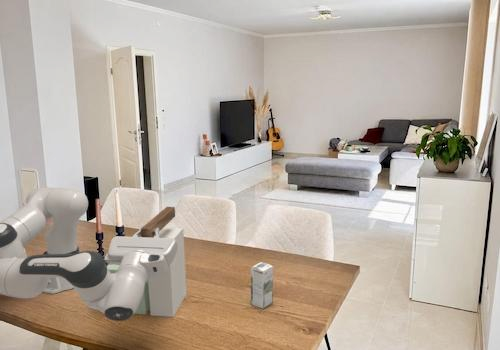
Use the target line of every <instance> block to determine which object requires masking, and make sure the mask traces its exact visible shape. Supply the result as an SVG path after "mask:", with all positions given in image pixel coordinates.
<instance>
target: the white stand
mask: <svg viewBox="0 0 500 350" xmlns="http://www.w3.org/2000/svg"><path fill="white" fill-rule="evenodd" d="M184 235H185V234H184V228H179V227H164V228H163V229H162V230H161V231H160V232H159V238H174V239H175V240H176V242H177V245H178V249H177V252H176V255H175V257H174V259H173V261H172V263H171V264H170V265H168V272H167V273H166V274H162V275H157V276H154V277H151V278H148V285H149V299H150V309H149V312H150V313H149V314H150V316H151V317H152V316H155V317H165V318H167V317H168V318H169V317H171V318H174V316H175V315H176V313H177V312H178V310H179V308H180V306H181V305H182V303H183V301H184V299H185V298H186V296H187V295H188V294H187V291H188V290H187V275H186V274H187V273H186V260H185V259H186V256H185V255H186V254H185V240H184V239H185V238H184ZM155 236H156V235H155ZM153 238H154V237H153Z"/></svg>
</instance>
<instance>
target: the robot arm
mask: <svg viewBox="0 0 500 350" xmlns="http://www.w3.org/2000/svg"><path fill="white" fill-rule="evenodd" d="M88 207H89V200H88V196H87V195H86V194H85V193H83V192H81V191H78V190H75V189H69V188H61V187H60V188H58V187H47V186H46V187H45V186H44V187H43V186H42V187H38V188H37V187H36V188H33V189H32V190H30V191H29V192H28V193H27V196H26V198H25V204H24V205H23V206H22V207H21V208H19V209H18V210H17V211H15V212H14V213H12V214H11V215H9V216H8V217H6V218H5V219H3V220H2V221H0V295H2V296H7V297H12V298H16V299H17V298H18V299H34V298H36V297H37V296H40V295H41V294H42V293H46V294H51V295H54V294H58V293H60V292H64V291H69V290H72V289H74V290H75V292H76V293H77V295H78V296H79V298H80V300H81V301H82V302H83V303H84V306H86V307H87V308H89V309H90V310H94V311H98V312H101V313H102V314H103V315H104V316H105V317H106V318H107V319H108V320H111V321H114V322H123V321H127V320H129V319H131V318H132V317H133V316H134V315H135V314H134V313H135V312H136V310H137V308H138V306H139V304H140V301H141V298H142V296H143V293H144V286H145V283H146V282H147V280H148V278H151V277H154V276H157V275H162V274H166V273H167V272H168V265H170V264H171V263H172V261H173V259H174V257H175V255H176V252H177V249H178V245H177V242H176V240H175V239H174V238H159V232H160V230H159V228H154V229H153V234H154V235H156V236H154V238H152V237H141V228H142V227H143V226H141V227H139V230H138V231H137V232H135V233H134V234H133V235H132V236H119V235H118V236H117V235H115V236H114V237H113V238H111V241H110V243H109V247H108V251H107V253H106V255H105V256H104V257H103V255H102V254H101V253H100V252H97V251H93V250H85V251H80V247H79V246H78V237H77V228H78V223H79V221H80V219H81V217H82V216H83V215H85V214H86V212H87V211H88ZM50 218H51V219H53V222H52V226H50V227H49V228H48V229H47V230H46V231H45V229H46V227H47V220H48V219H50ZM44 231H45V235H44V237H45V243H46V244H45V245H46V251H44V252H43V253H41V254H34V255H30V256H28V254H27V251H26V248H25V247H24V246H26V244H28V243H29V242H31V241H32V240H34V239H35V238H36V237H37V236H39V235H40V234H42V233H43V232H44ZM109 264H116V265H120V266H119V268H118V271H117V272H116V273H115V274H111V273H110V272H109V270H108V268H107V265H109Z"/></svg>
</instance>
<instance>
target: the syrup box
mask: <svg viewBox="0 0 500 350" xmlns="http://www.w3.org/2000/svg"><path fill="white" fill-rule="evenodd" d="M273 295H274V266H273V265H271V264H269V263H266V262H262V261H261V262H259V263H256V264H255V265H253V266H251V267H250V304H251V306H255V307H258V308H260V309H263V310H264V309H265V308H267V307H269V306H270V305H272V304H273V303H274V301H273V300H274V297H273Z"/></svg>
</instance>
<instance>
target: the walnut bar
mask: <svg viewBox="0 0 500 350" xmlns="http://www.w3.org/2000/svg"><path fill="white" fill-rule="evenodd" d="M175 217H176V207H175V206H166V207H164V208H163V209H162V210H161V211H160V212H159V213H157V214H156V215H155V216H154V217H153V218H151V219H150V220H149V221H148V222H147V223H146V224H144V225H143V226H141V227H142V228H141V237H152V238H153V237H154V236H155V235H154V234H153V229H154V228H159V230H160V231H161V230H162V229H163V228H166V226H167V225H168V224H169V223H170V222H171V221H172V220H173V219H174V218H175Z"/></svg>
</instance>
